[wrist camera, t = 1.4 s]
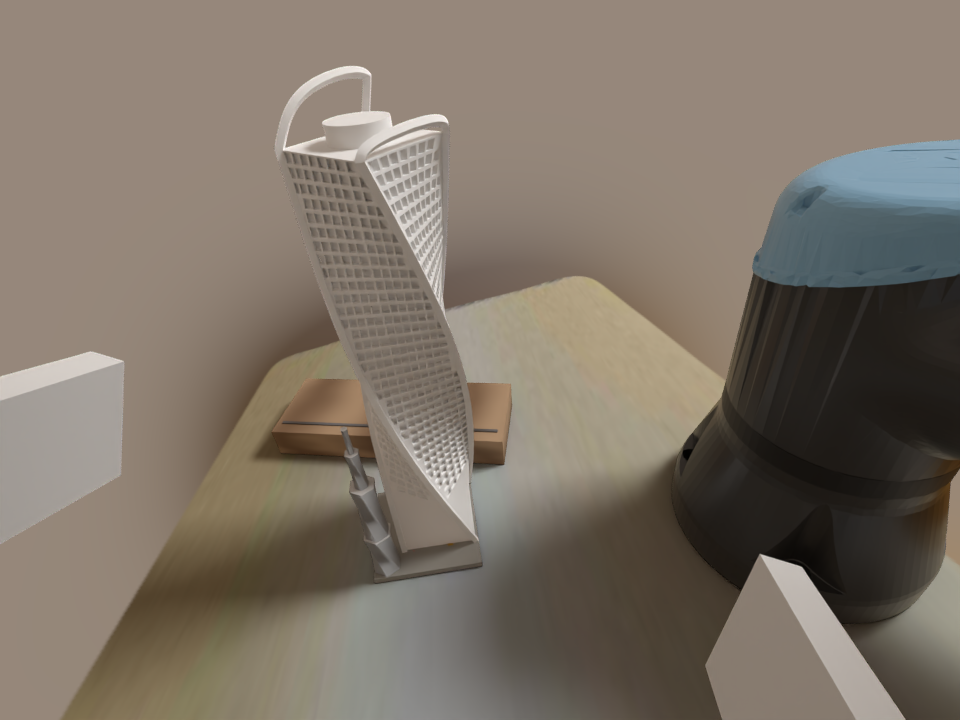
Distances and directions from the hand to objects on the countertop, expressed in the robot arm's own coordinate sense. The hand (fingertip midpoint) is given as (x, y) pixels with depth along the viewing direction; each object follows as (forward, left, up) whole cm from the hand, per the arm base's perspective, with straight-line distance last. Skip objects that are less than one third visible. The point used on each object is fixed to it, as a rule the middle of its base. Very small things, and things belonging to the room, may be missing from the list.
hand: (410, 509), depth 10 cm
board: (0, -27, -22) cm, 35 cm away
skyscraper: (-1, -16, -22) cm, 28 cm away
